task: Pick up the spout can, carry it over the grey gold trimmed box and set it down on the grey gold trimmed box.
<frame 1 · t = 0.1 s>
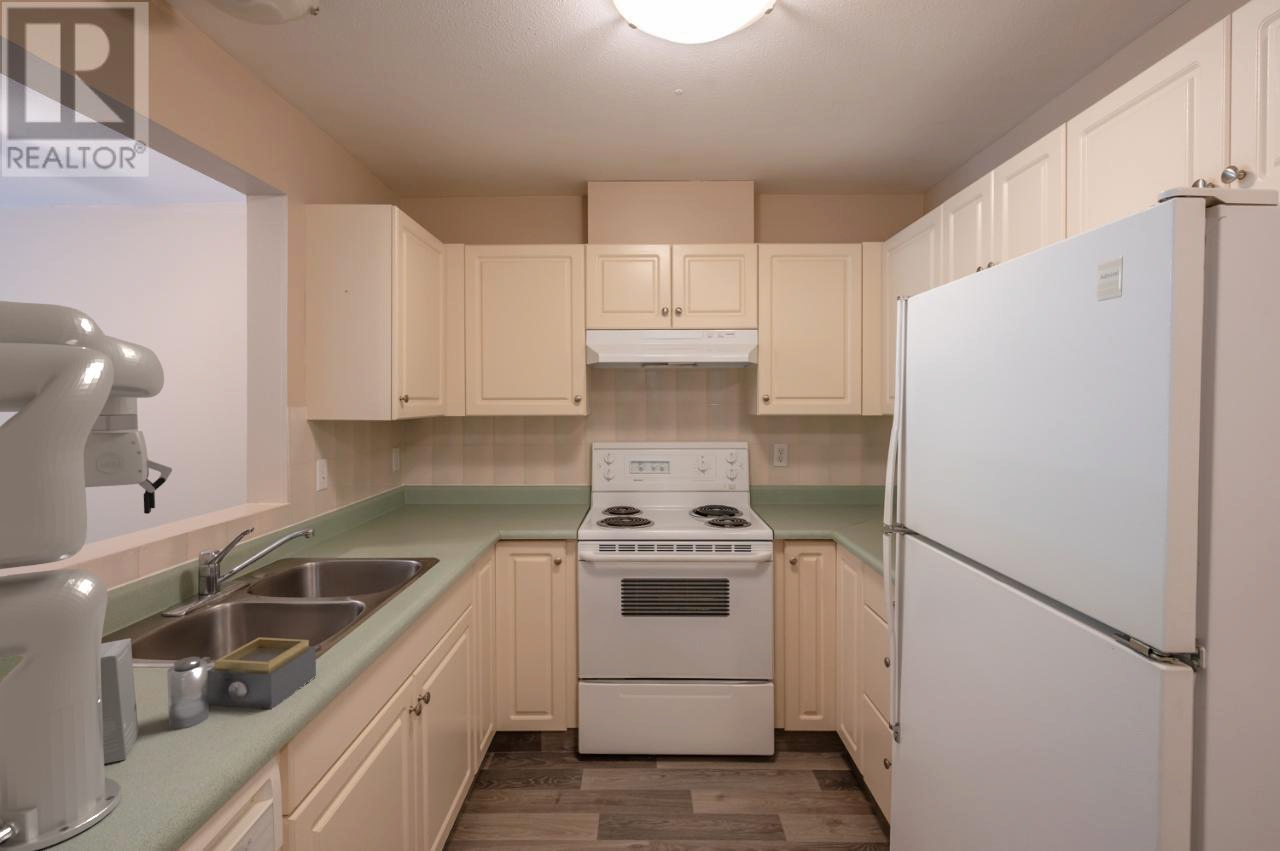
hand: (114, 515, 109), 31 cm above the table, tool pointing down, fingers open, 9 cm apart
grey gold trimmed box: (264, 690, 106), on the table
spout can: (189, 720, 96), on the table
skincare box: (103, 754, 87), on the table
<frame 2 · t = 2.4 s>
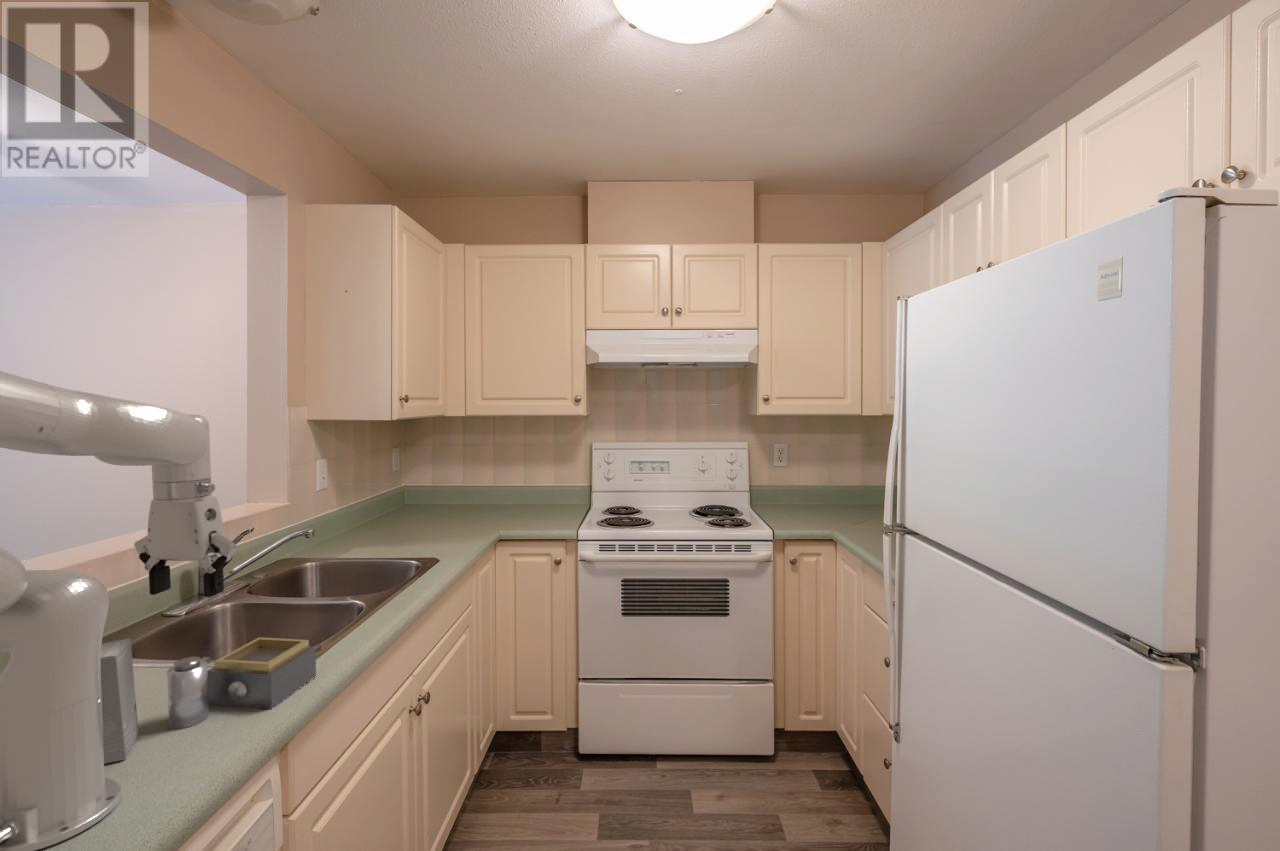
hand: (187, 593, 96), 21 cm above the table, tool pointing down, fingers open, 9 cm apart
nothing on the table moved.
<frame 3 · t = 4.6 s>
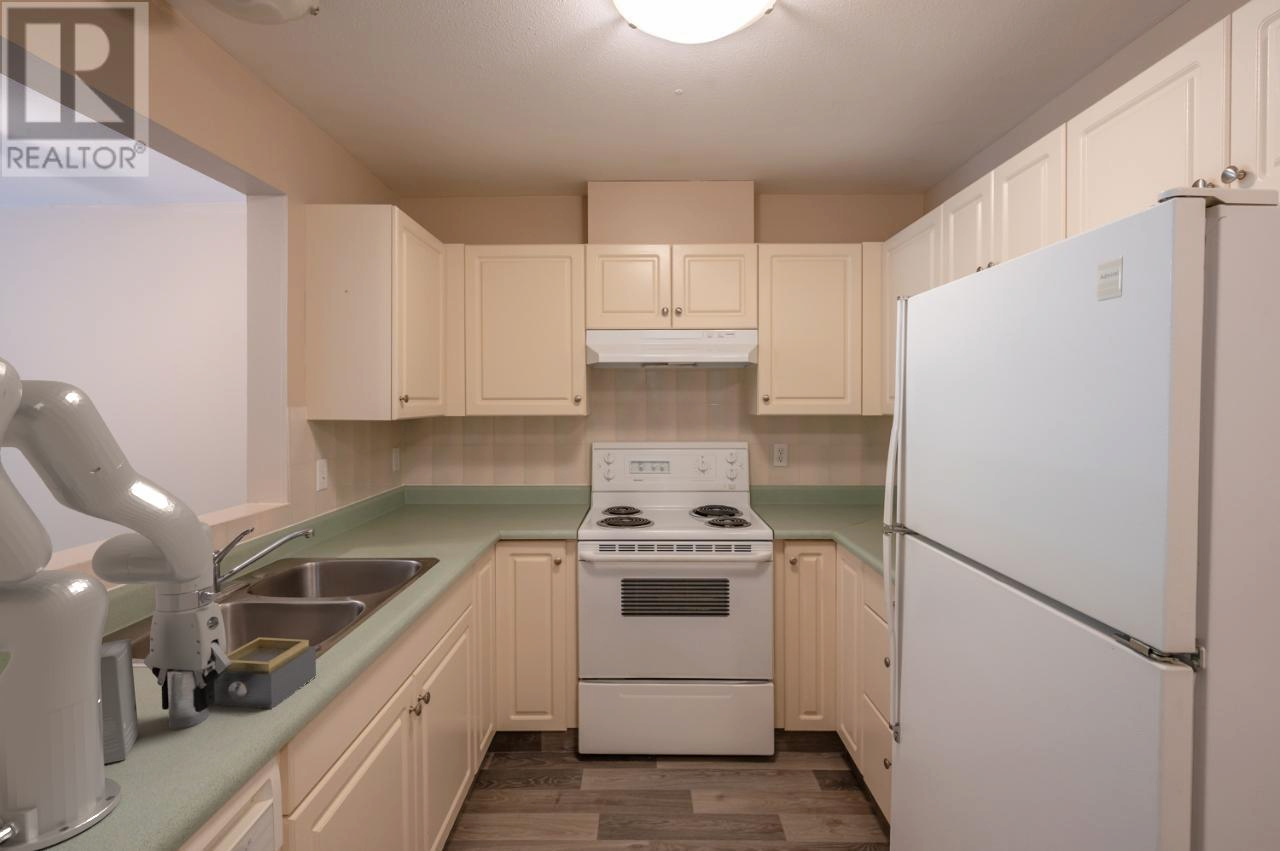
hand: (188, 705, 96), 2 cm above the table, tool pointing down, fingers closed on spout can, 5 cm apart
spout can: (189, 720, 96), on the table, touching gripper
everything else where it was.
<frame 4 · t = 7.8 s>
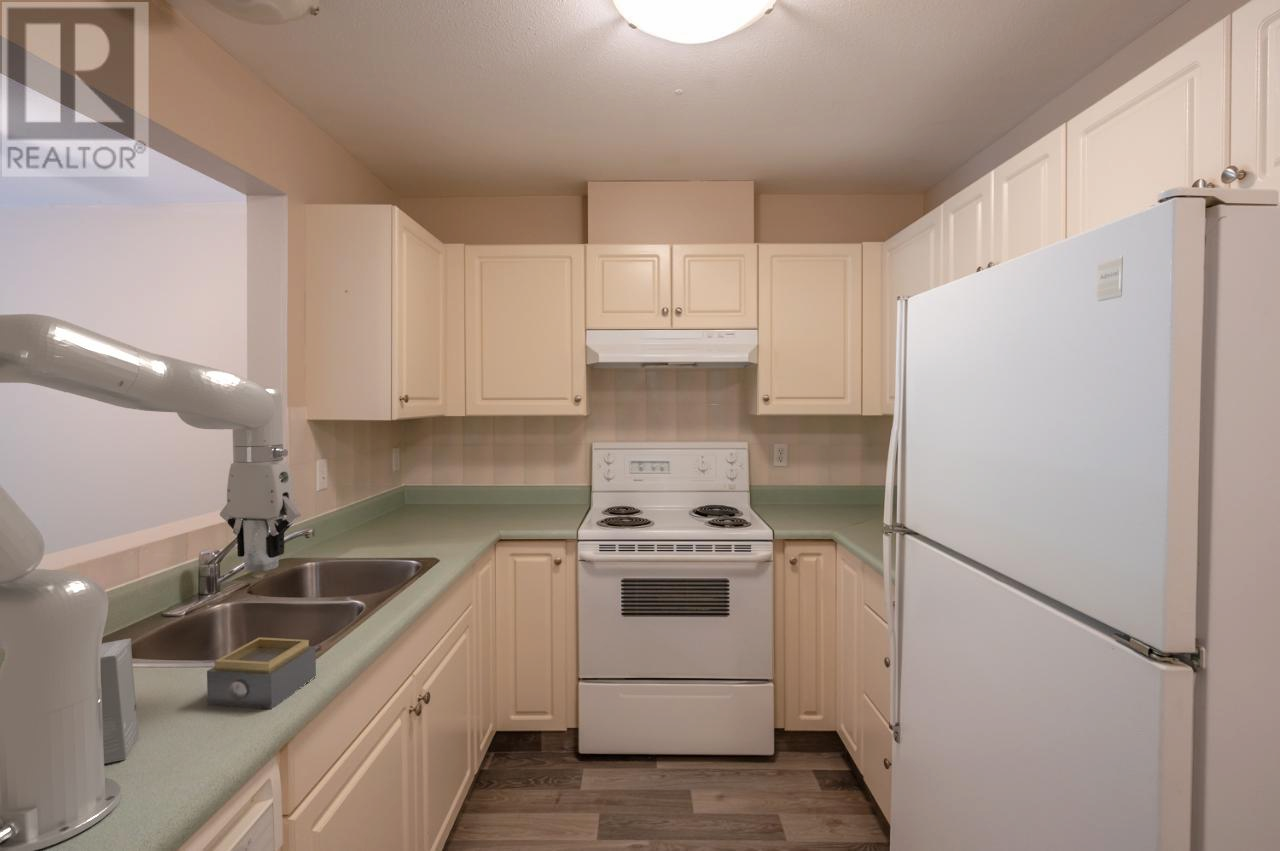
hand: (261, 554, 105), 25 cm above the table, tool pointing down, fingers closed on spout can, 5 cm apart
spout can: (261, 567, 105), point 23 cm above the table, touching gripper
everything else where it was.
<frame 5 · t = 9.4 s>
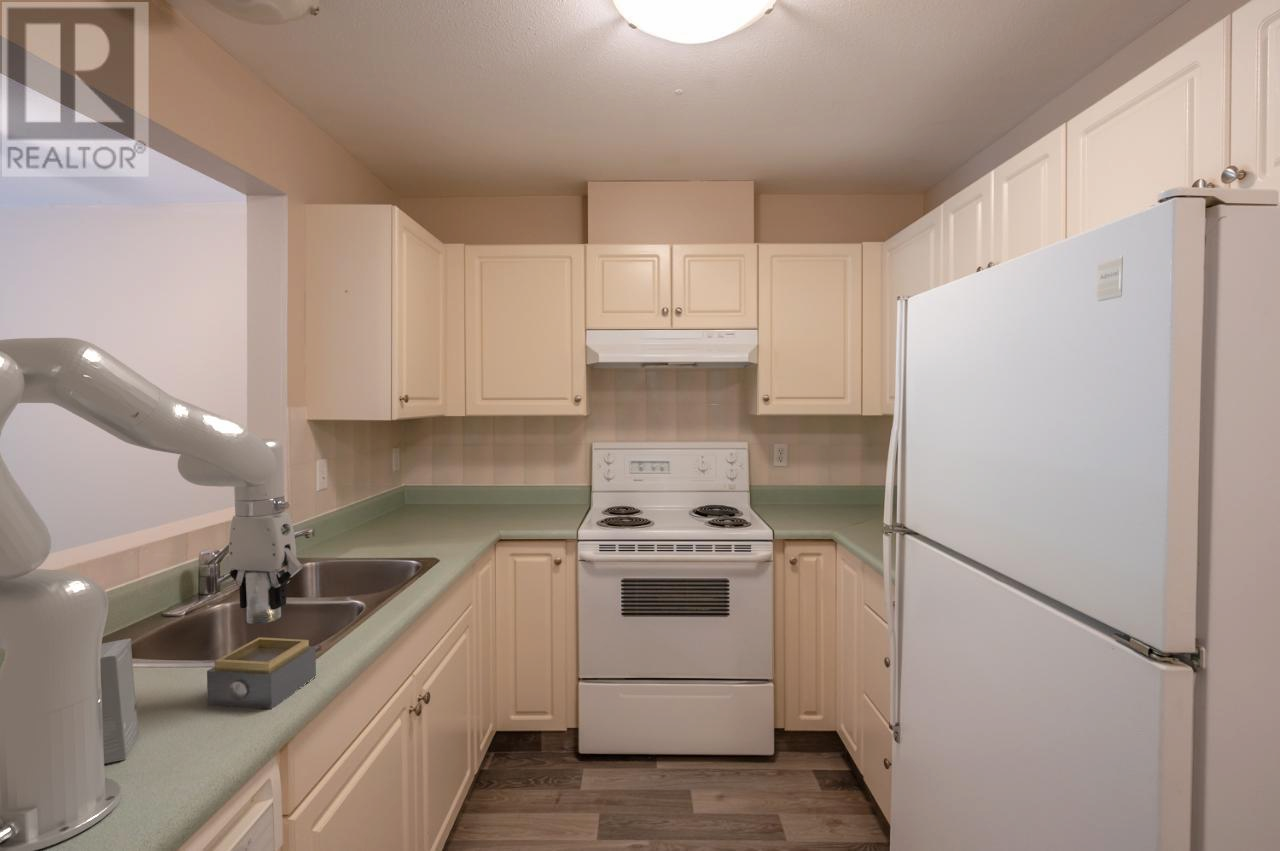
hand: (263, 605, 105), 16 cm above the table, tool pointing down, fingers closed on spout can, 5 cm apart
spout can: (264, 618, 106), point 13 cm above the table, touching gripper
everything else where it was.
when the fingers open (10 cm above the table, at t = 11.0 s): spout can drops 1 cm, resting on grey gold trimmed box.
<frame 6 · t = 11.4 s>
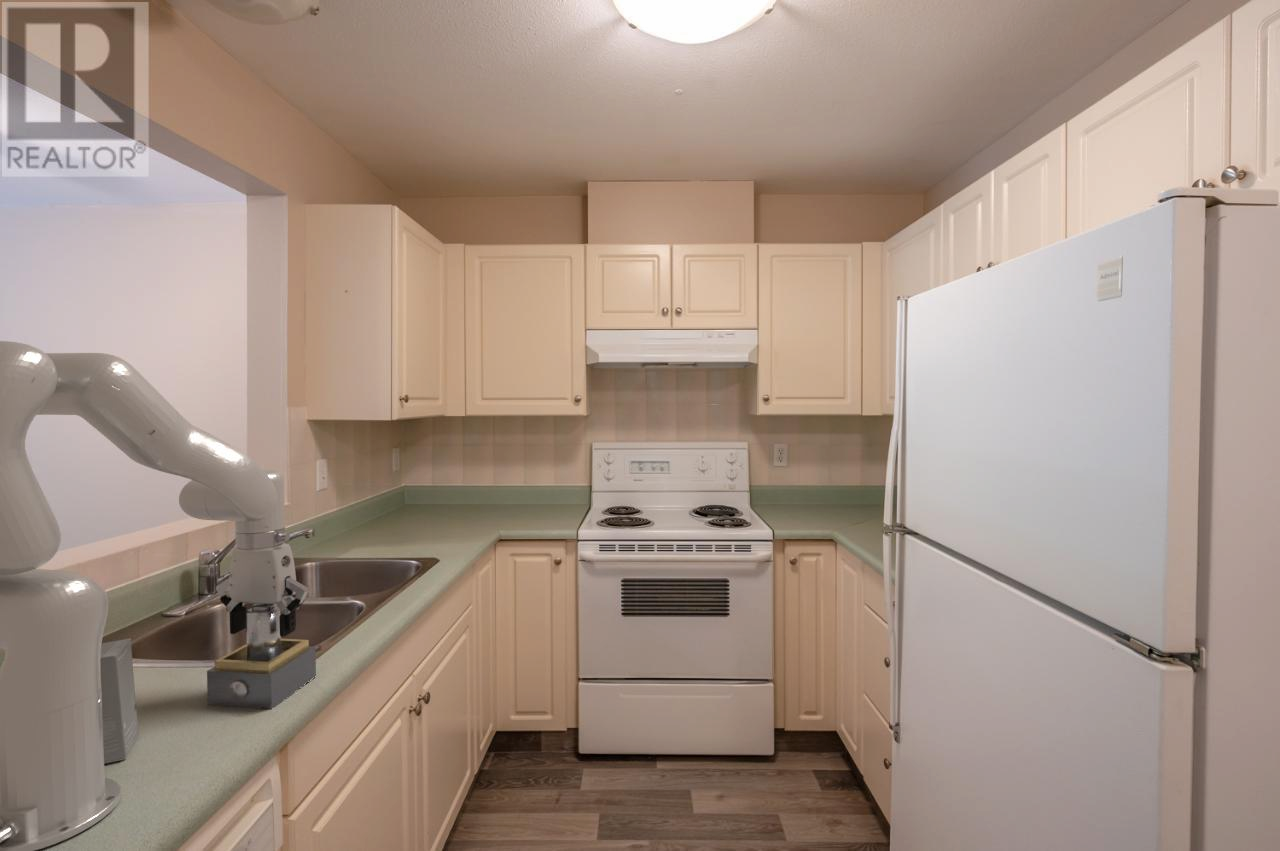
hand: (263, 632, 106), 11 cm above the table, tool pointing down, fingers open, 9 cm apart
spout can: (264, 658, 106), point 6 cm above the table, touching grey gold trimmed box
everything else where it was.
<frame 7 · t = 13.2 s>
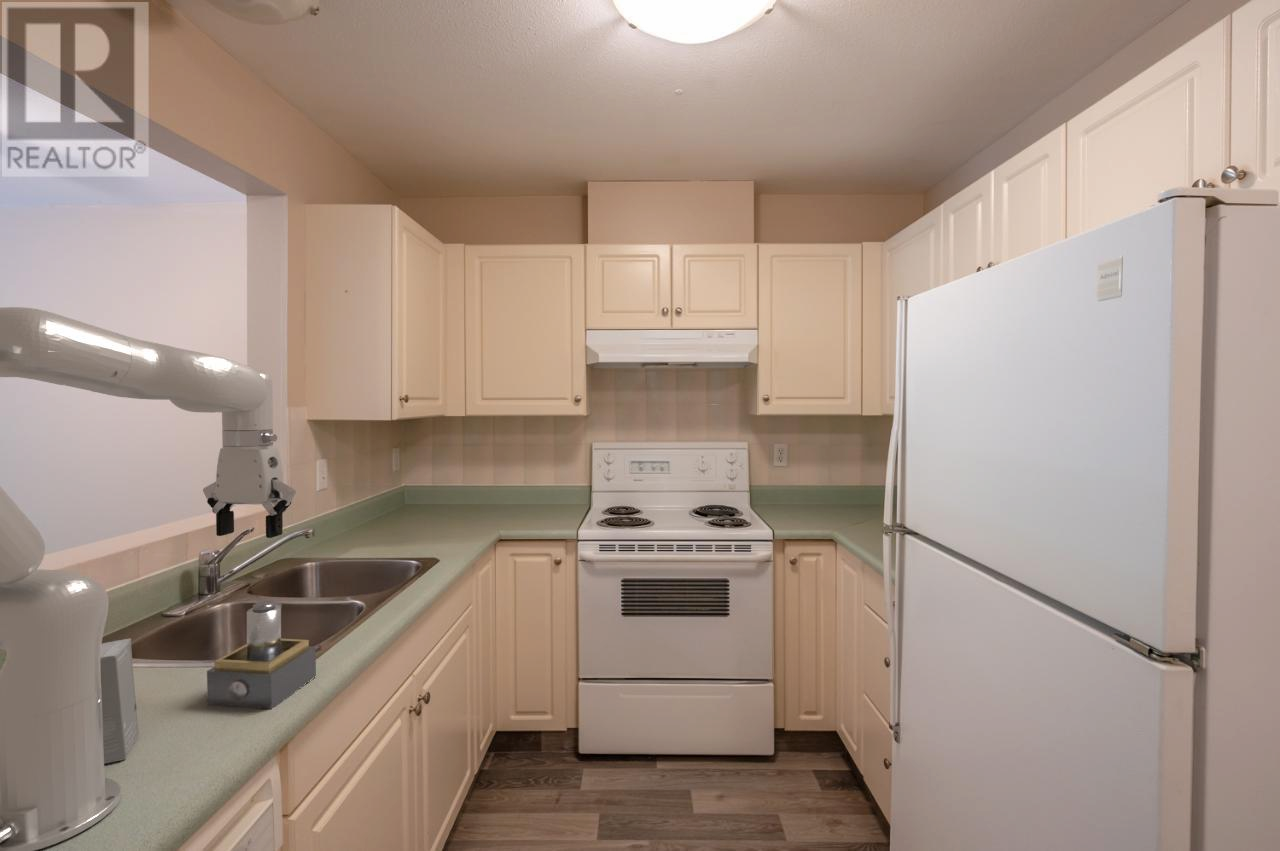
hand: (249, 535, 104), 29 cm above the table, tool pointing down, fingers open, 9 cm apart
nothing on the table moved.
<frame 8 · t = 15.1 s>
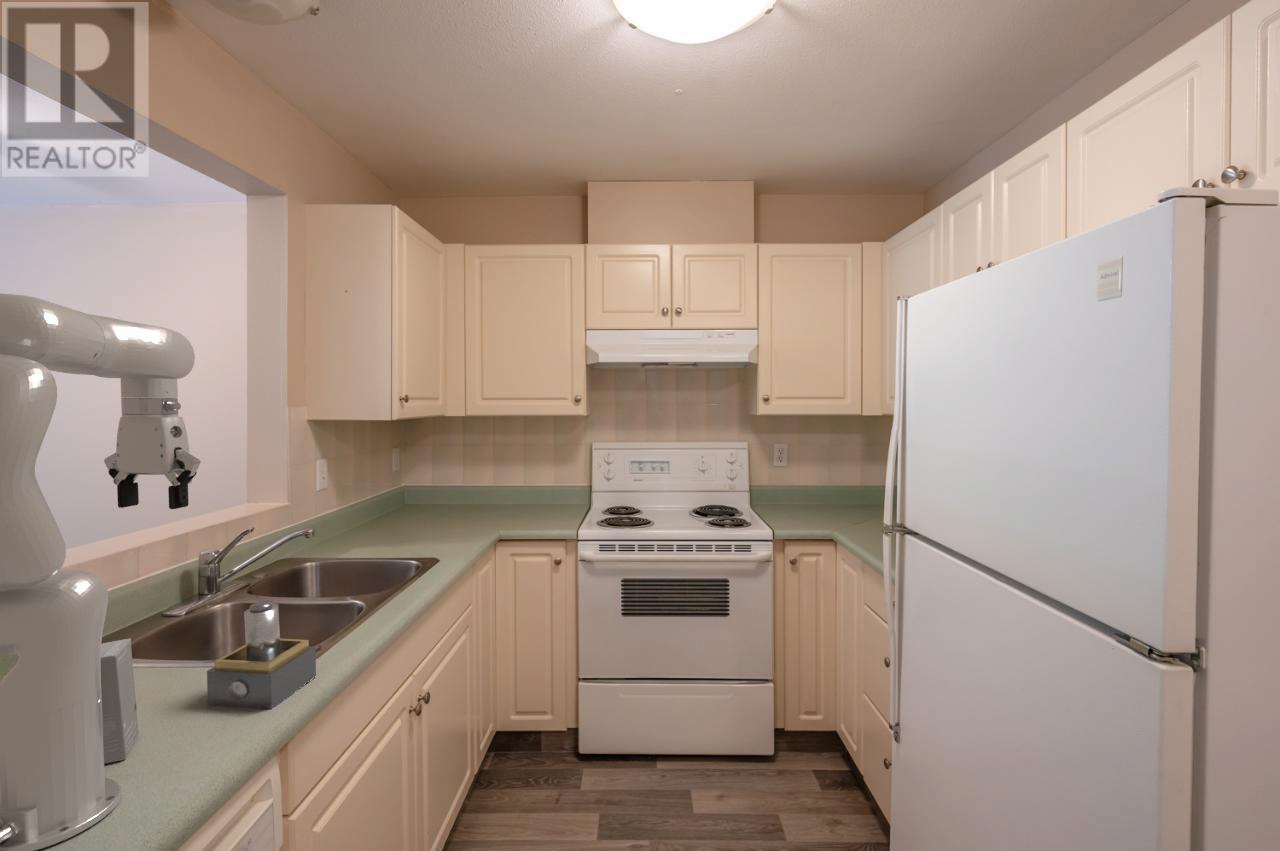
hand: (153, 507, 101), 34 cm above the table, tool pointing down, fingers open, 9 cm apart
nothing on the table moved.
at the end: spout can inside the target area on the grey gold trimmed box (0.1 cm from its centre), point 6.1 cm above the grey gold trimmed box's base; spout can tilted 2°; the gripper is holding nothing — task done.
